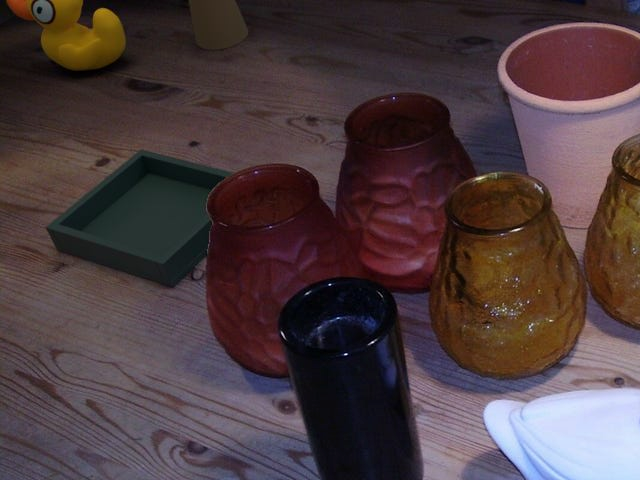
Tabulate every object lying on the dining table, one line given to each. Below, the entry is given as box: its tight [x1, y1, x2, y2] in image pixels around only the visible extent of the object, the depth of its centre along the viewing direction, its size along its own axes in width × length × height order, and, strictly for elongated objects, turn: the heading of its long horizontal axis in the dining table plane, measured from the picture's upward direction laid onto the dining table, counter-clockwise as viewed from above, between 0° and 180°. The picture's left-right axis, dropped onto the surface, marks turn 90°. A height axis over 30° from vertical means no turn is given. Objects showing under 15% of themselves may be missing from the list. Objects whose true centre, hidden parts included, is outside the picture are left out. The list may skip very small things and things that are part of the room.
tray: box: [45, 148, 234, 288], centre depth 89 cm, size 14×13×3 cm
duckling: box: [5, 0, 127, 72], centre depth 109 cm, size 11×5×10 cm, turn 86°
